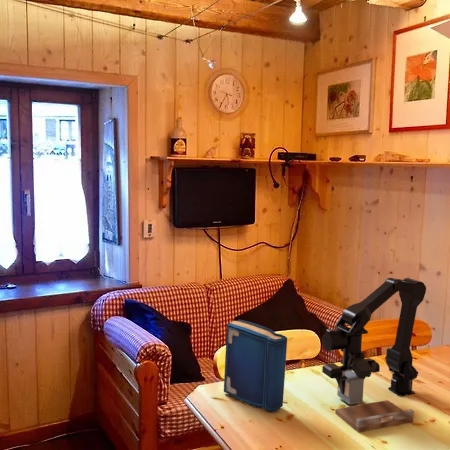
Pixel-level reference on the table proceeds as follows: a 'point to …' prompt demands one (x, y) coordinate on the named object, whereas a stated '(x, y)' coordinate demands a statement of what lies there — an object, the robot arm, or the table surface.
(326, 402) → the table surface
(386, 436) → the table surface
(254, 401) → the book
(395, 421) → the shelf board
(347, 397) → the carton
